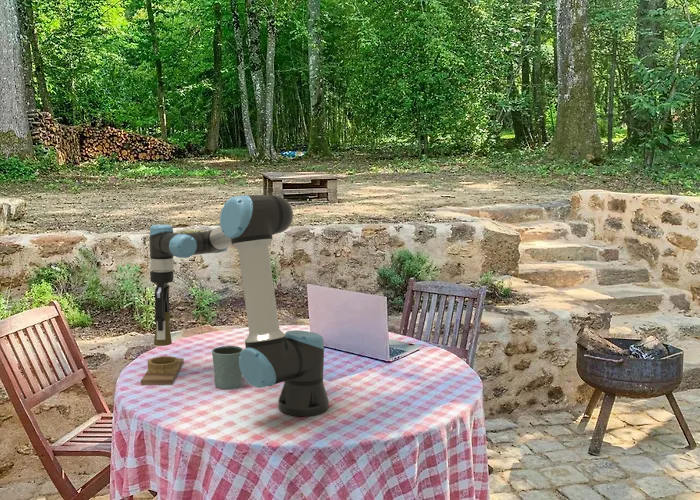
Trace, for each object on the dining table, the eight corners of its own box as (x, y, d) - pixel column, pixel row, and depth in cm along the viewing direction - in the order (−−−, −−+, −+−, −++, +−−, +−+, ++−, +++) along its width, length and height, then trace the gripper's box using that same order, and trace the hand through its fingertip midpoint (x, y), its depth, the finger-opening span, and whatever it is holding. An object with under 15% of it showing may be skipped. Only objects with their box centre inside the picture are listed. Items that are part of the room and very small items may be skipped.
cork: (166, 346, 220) (166, 314, 218) (150, 345, 221) (149, 313, 219) (175, 341, 225) (174, 310, 224) (159, 340, 227) (158, 309, 225)
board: (172, 384, 213) (171, 371, 213) (140, 385, 212) (140, 371, 212) (183, 362, 237) (183, 350, 236) (155, 362, 236) (155, 350, 235)
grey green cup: (236, 391, 208) (236, 355, 207) (207, 388, 210) (206, 352, 209) (247, 381, 218) (247, 346, 217) (219, 378, 220) (219, 344, 219)
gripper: (155, 265, 228) (156, 330, 231) (144, 274, 210) (145, 344, 213) (177, 266, 229) (178, 330, 232) (168, 275, 211) (169, 344, 214)
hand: (162, 336), depth 223 cm, fingers closed on cork, 5 cm apart
